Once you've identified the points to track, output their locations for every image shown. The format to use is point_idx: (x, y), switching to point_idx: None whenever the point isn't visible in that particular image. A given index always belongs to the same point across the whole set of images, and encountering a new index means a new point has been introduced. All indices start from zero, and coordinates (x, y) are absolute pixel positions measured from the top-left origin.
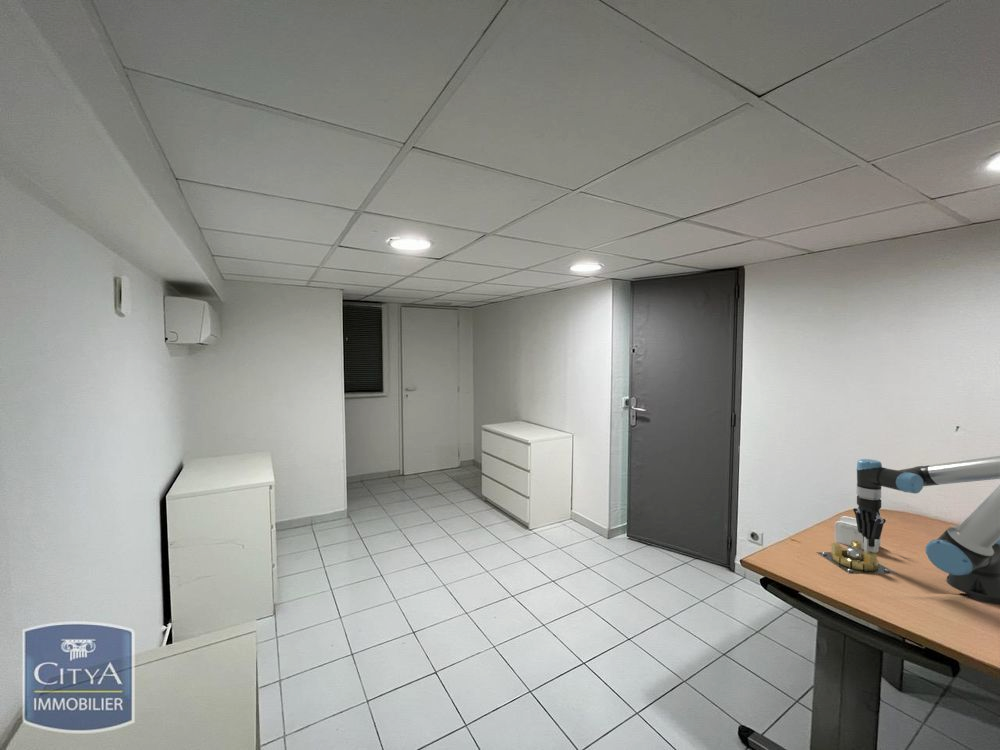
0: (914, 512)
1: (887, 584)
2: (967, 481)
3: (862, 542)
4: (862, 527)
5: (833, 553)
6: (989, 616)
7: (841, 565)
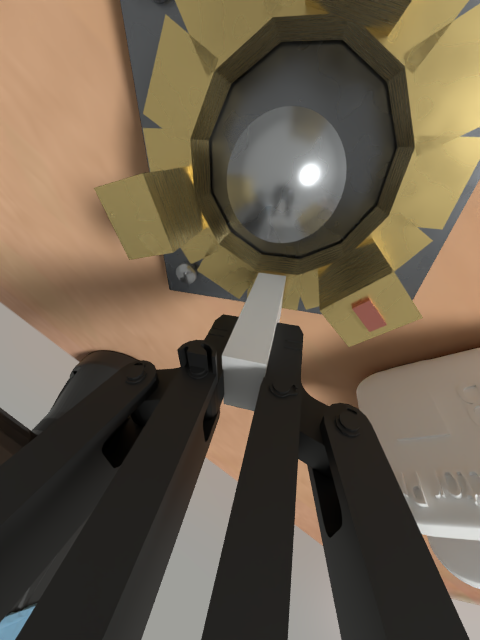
0: None
1: (103, 179)
2: None
3: (431, 401)
4: (280, 514)
5: None
6: (13, 310)
7: None
